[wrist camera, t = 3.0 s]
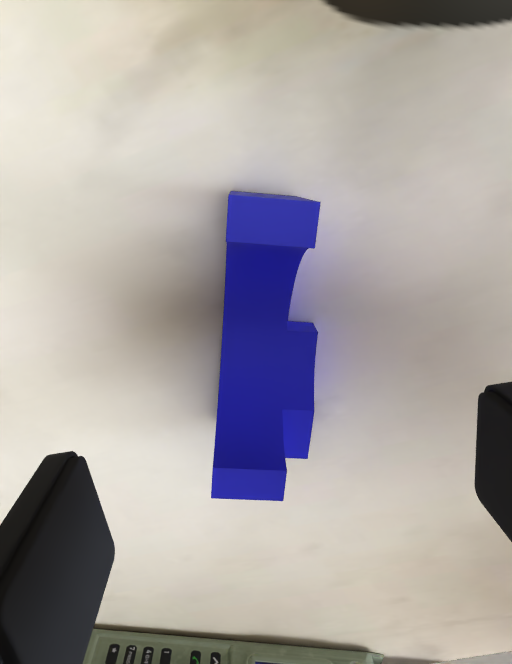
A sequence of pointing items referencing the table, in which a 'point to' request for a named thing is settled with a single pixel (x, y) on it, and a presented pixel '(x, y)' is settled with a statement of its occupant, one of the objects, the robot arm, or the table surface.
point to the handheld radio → (208, 651)
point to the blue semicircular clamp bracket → (263, 348)
